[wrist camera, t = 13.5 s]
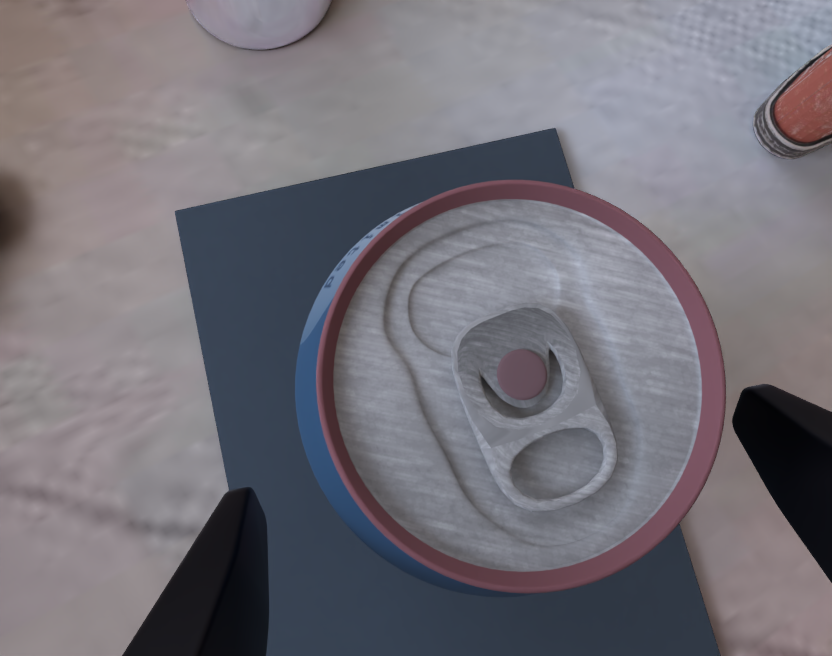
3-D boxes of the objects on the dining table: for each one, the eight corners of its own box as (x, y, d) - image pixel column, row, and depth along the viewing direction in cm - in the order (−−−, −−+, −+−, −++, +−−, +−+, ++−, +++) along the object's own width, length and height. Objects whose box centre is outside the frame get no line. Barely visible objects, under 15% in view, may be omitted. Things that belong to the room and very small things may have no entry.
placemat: (734, 714, 18) (741, 720, 18) (303, 851, 17) (300, 861, 17) (552, 132, 21) (555, 127, 21) (178, 214, 20) (174, 210, 20)
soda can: (319, 343, 19) (200, 231, 7) (494, 276, 20) (642, 78, 8) (388, 529, 18) (379, 741, 7) (570, 453, 19) (860, 519, 7)
